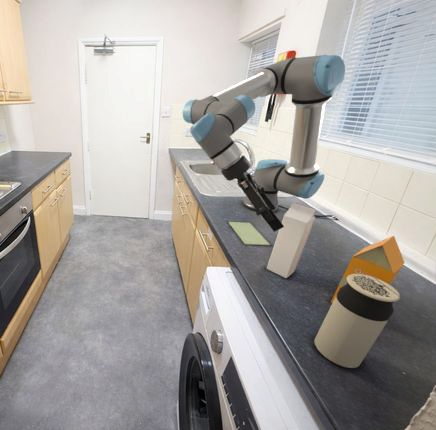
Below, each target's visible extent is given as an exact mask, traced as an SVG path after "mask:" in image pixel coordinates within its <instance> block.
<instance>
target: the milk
mask: <svg viewBox="0 0 436 430" xmlns="http://www.w3.org/2000/svg"><path fill="white" fill-rule="evenodd" d="M288 209H289V210H286V212H285V213H284V215H283V218H282V221H281V223H282V224H283V226H284V227H283V228H281V229H279V230H278V232H277V236H276V239H275V242H274V245H273V246H272V247H273V248H272V251H271V253H270V256H269V260H268V262H267V266H266V270H268V271H270V272H272V273H274V274H276V275H278V276H280V277H282V278H285V279H287V278H289V277H290V276H291V275H292V274H293V273H294V272H295V271H296V268H297V266H298V263H299V261H300V258H301V256H302V254H303V251H304V249H305V245H306V243H307V241H308V238H309V236H310V233H311V230H312V227H313V225H314V223H315V220H316V217H315V216H314V215H315V212H316V210H315V209H314V208H311V207H308V206H305V205H301V204H297V203H294V202H292V203H291V204H290V207H288Z"/></svg>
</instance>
